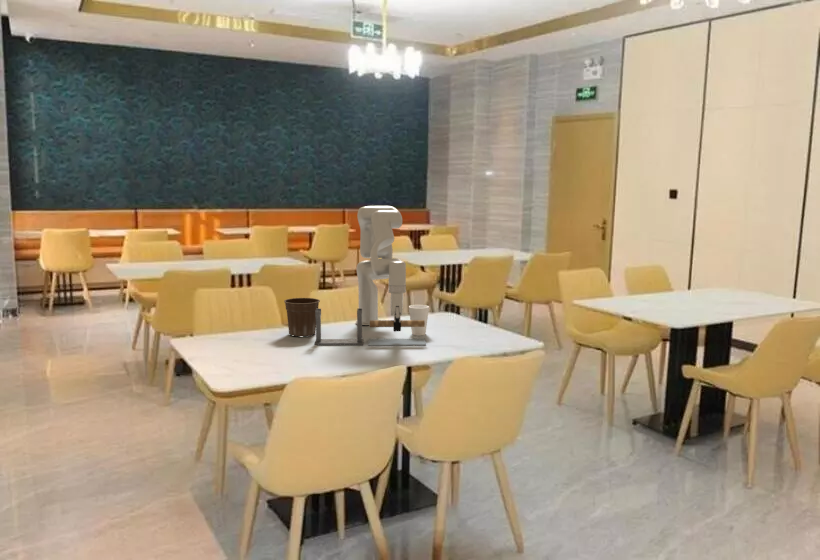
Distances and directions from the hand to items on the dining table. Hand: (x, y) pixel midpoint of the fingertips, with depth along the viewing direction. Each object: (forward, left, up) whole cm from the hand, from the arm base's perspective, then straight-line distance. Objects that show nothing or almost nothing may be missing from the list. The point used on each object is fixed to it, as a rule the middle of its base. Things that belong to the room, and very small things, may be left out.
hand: (397, 329), depth 315 cm
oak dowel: (0, 0, +1) cm, 1 cm away
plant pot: (-18, -44, -6) cm, 47 cm away
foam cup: (-18, +10, -6) cm, 22 cm away
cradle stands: (0, -26, -6) cm, 26 cm away
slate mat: (0, 0, -6) cm, 6 cm away
